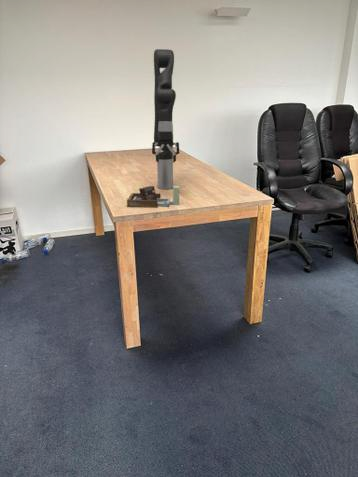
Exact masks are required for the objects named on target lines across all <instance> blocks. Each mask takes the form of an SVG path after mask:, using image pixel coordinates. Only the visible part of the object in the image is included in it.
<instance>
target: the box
mask: <svg viewBox="0 0 358 477" xmlns="http://www.w3.org/2000/svg"><path fill="white" fill-rule="evenodd" d="M138 190H139V193H140V195H141V199H142V200H157V197H156V189H155V185H148V186H143V187H140V188H139V189H138Z"/></svg>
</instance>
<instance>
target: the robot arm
mask: <svg viewBox="0 0 358 477" xmlns="http://www.w3.org/2000/svg"><path fill="white" fill-rule="evenodd" d="M174 67H175V54H174V51H173V50H172V49H164V48H163V49H158V48H157V49H155V50H154V52H153V69H154V70H153V71H154V72H153V73H154V92H153V94H154V98H153V100H154V101H153V102H154V104H153V105H154V124H153V125H154V127H153V128H154V131H153V142H152V146H151V154H152V155H155V162H157V163H156V164H157V165H156V167H157V168H156V170H157V189H159V190H170V189H173V186H174V163H175V162H177V155H180V143H179V141H178V142H177V141H176V142H174V125H173V124H174V123H173V111H174V110H173V109H174V105H175V101H176V97H177V94H176V91H175V89H173V75H174V74H173V73H174ZM161 69H163V70H162V71H161ZM174 146H175V148H176V151H175V150H174V148H173V147H174ZM156 147H159V148H158V150H157V151H156Z"/></svg>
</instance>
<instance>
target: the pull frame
mask: <svg viewBox="0 0 358 477" xmlns="http://www.w3.org/2000/svg"><path fill="white" fill-rule="evenodd" d="M172 198H173V199H172V200H171V198H164V197H163V198H162V197H161V198H157V200H158V208H159V207H162V208H163V207H165V208H167V207H170V205H173V206H180V185H173V188H172ZM133 200H142V199H141V198H137V197H134V199H133ZM161 202H162V203H161Z"/></svg>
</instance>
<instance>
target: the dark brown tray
mask: <svg viewBox="0 0 358 477" xmlns="http://www.w3.org/2000/svg"><path fill="white" fill-rule="evenodd" d="M155 193H156V192H155ZM161 195H162V194H161V193H156V197H157V198H162V197H161ZM134 197H137V198H141V195H140V192H132V193H131V194H130V195H129V196H128V198H127V199H126V207H127V208H156V209H157V208H159V207H158V203H159V202H158V200H133V199H134Z"/></svg>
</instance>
